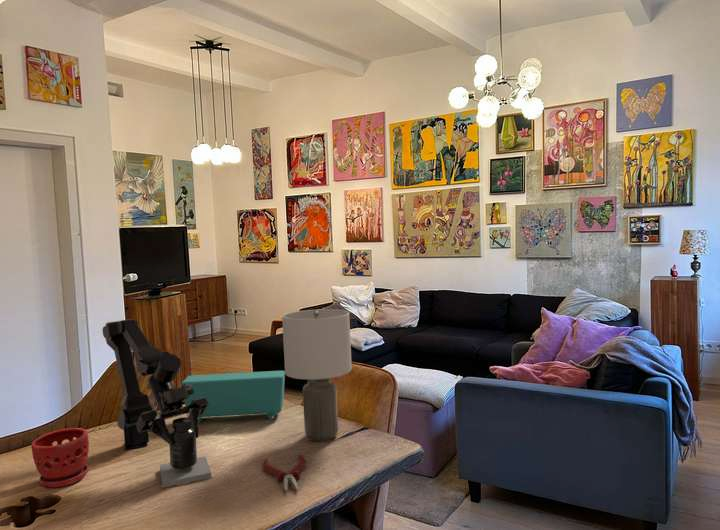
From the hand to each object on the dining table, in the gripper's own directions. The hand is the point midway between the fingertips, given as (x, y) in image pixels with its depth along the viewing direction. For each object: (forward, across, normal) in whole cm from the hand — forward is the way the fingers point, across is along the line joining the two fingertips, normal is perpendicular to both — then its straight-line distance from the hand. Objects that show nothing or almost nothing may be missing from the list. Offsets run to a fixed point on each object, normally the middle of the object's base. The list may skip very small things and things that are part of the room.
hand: (185, 441), depth 145 cm
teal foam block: (-14, +34, +28) cm, 47 cm away
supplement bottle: (+4, 0, +6) cm, 7 cm away
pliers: (+21, +16, -7) cm, 27 cm away
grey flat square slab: (+6, 0, +7) cm, 9 cm away
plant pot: (-10, -23, +24) cm, 34 cm away
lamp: (+12, +41, +2) cm, 43 cm away
